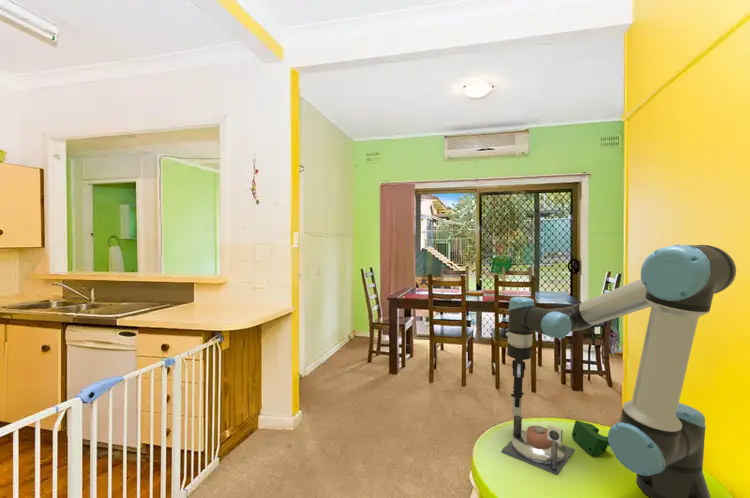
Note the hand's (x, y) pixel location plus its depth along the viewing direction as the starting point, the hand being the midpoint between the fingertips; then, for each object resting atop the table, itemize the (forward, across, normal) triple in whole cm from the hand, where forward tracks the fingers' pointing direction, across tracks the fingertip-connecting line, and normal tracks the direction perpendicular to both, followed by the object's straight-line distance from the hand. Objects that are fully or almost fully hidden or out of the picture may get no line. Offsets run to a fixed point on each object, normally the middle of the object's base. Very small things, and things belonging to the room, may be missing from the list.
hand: (516, 414), depth 128 cm
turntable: (+6, +9, +6) cm, 13 cm away
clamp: (+7, 0, +22) cm, 23 cm away
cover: (+4, +8, +7) cm, 11 cm away
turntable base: (+6, +9, +6) cm, 13 cm away
